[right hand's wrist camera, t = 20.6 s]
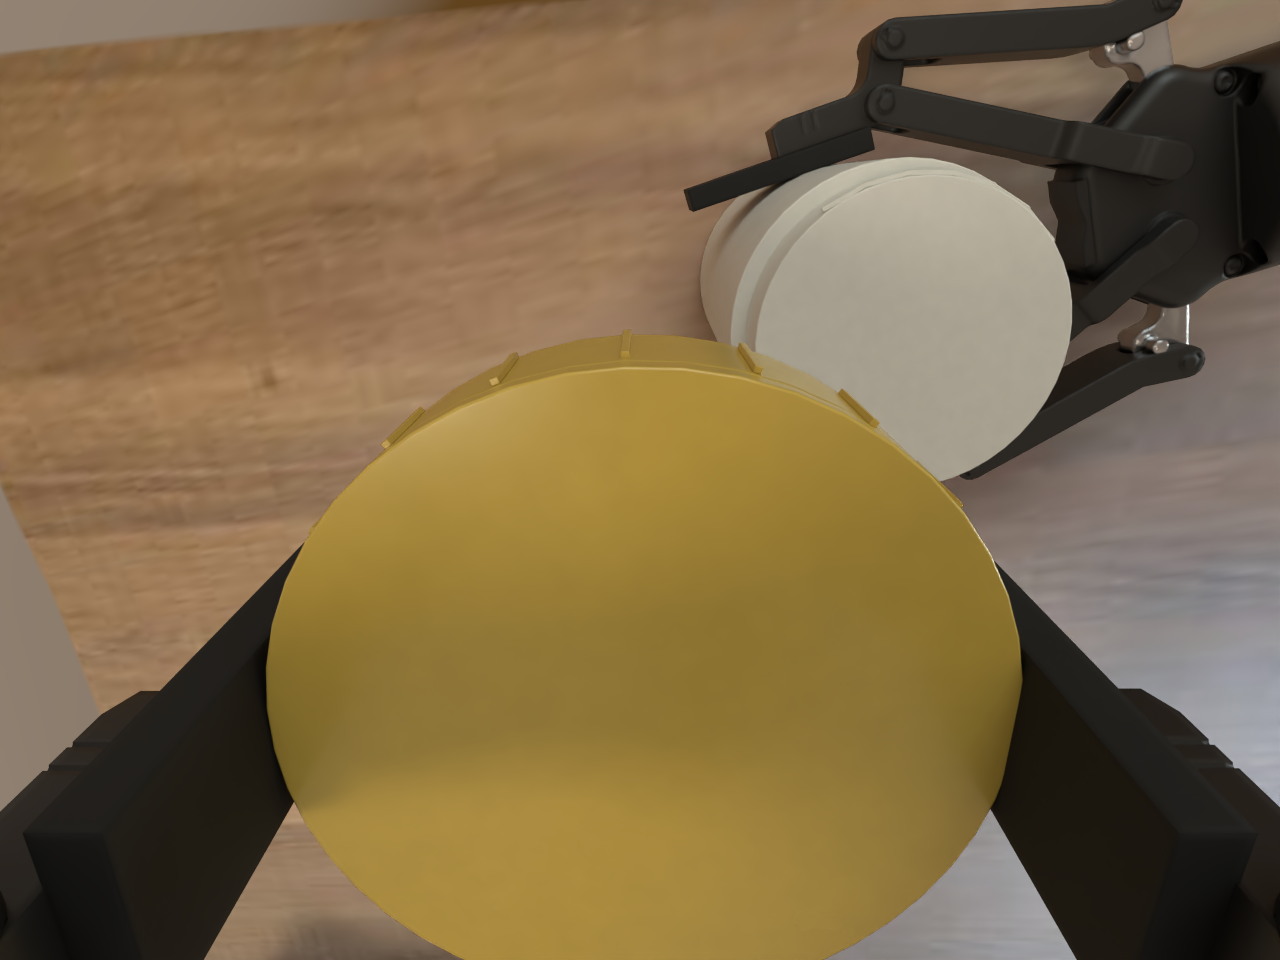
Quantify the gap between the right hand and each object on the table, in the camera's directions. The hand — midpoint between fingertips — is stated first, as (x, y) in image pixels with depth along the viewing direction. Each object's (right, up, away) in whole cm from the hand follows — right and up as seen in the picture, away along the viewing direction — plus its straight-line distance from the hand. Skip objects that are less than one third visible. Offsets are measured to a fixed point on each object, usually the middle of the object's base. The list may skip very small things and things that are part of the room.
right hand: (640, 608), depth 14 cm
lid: (0, -1, -3) cm, 3 cm away
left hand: (+3, +8, +16) cm, 18 cm away
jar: (+8, +12, +22) cm, 26 cm away
